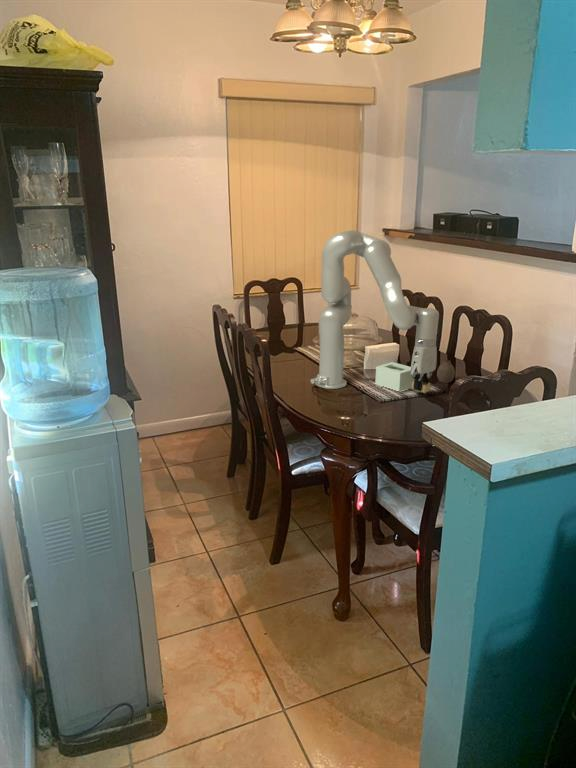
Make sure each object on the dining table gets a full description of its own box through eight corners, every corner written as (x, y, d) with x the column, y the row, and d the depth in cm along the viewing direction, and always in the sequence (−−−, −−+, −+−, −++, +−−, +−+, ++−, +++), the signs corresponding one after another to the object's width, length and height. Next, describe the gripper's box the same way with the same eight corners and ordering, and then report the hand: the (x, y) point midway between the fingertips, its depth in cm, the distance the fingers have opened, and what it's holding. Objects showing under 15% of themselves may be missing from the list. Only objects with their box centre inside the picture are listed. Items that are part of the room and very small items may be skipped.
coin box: (399, 393, 218) (400, 373, 215) (375, 385, 226) (376, 366, 224) (415, 387, 224) (416, 368, 222) (391, 380, 233) (392, 362, 230)
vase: (454, 384, 228) (456, 363, 225) (436, 383, 229) (438, 362, 226) (453, 379, 234) (455, 359, 232) (436, 378, 236) (437, 358, 233)
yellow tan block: (424, 392, 212) (425, 385, 211) (411, 388, 217) (412, 381, 216) (429, 391, 214) (430, 383, 213) (416, 386, 219) (417, 379, 218)
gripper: (420, 347, 202) (415, 396, 208) (447, 340, 212) (441, 387, 218) (403, 343, 207) (399, 390, 213) (430, 336, 217) (425, 382, 223)
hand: (420, 388), depth 215 cm, fingers closed on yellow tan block, 3 cm apart
